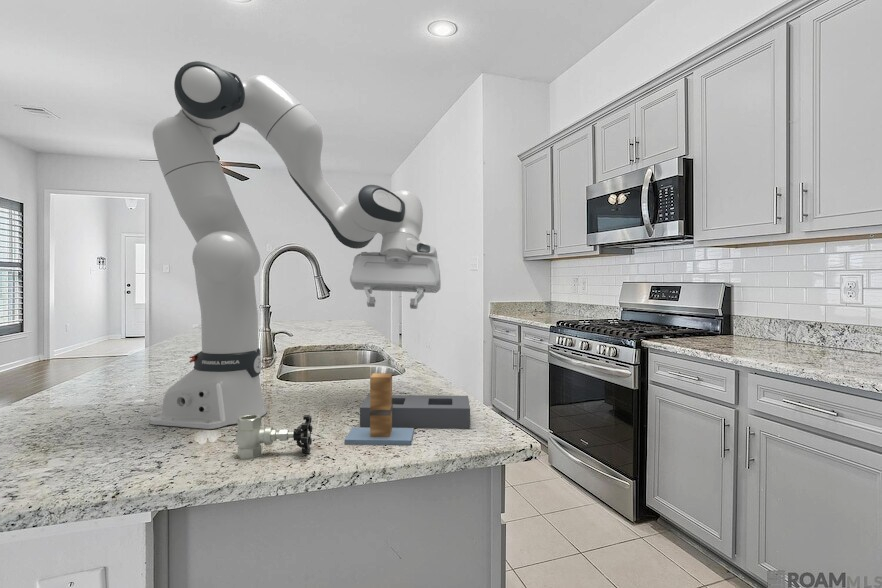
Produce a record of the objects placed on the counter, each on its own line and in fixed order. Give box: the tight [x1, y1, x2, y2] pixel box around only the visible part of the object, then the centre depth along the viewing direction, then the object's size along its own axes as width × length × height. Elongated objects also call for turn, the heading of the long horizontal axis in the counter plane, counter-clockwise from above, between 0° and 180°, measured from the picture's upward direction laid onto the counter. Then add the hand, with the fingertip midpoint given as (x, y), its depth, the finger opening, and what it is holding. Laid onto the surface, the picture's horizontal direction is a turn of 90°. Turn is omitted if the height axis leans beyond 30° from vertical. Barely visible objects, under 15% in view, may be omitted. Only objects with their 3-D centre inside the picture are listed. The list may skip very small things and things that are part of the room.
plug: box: [369, 372, 393, 437], centre depth 89 cm, size 4×4×11 cm
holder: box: [359, 394, 471, 429], centre depth 100 cm, size 22×10×4 cm, turn 89°
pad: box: [343, 426, 415, 446], centre depth 89 cm, size 12×7×1 cm, turn 89°
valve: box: [235, 414, 313, 460], centre depth 81 cm, size 7×7×12 cm
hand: (391, 306), depth 103 cm, fingers open, 8 cm apart
